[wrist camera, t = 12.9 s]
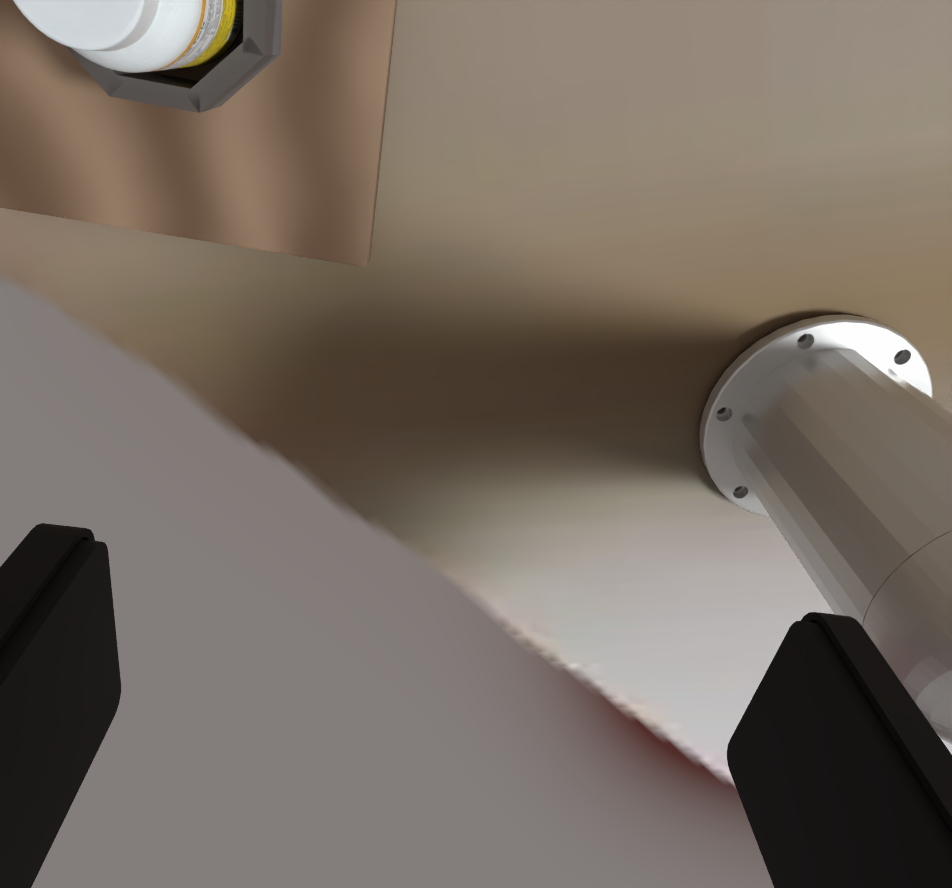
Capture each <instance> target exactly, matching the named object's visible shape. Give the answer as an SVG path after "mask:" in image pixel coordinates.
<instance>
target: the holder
mask: <svg viewBox="0 0 952 888" xmlns="http://www.w3.org/2000/svg"><path fill="white" fill-rule="evenodd" d="M396 5H397V0H244V16H243V34H242V36H241V38H240V39H239V41H238V42H237V44H236V45H235V47H234V48H233V49H232V50H231V51H230V52H229V53H228V54H226V55H225V56H224V57H222V58H221V59H219V60H217V61H215V62H212V63H210V64H206V65H202V66H193V67H183V68H174V69H167V70H159V71H152V72H139V73H131V72H122V71H116V70H112V69H109V68H106V67H103V66H101V65H98V64H96V63H94V62H92V61H90V60H88V59H86V58H85V57H83V56H82V55H80V54H79V53H77V52H76V51H74V50H73V49H72V48H71V47H68V46H65V45H63V44H60V43H58V42H56V41H55V40H53V39H51V38H49V37H48V36H46V35H45V34H44V33H42V32H41V31H40V30H38V29H37V28H36V27H35V26H34V25H33V24H32V23H31V22H30V21H29V20H28V19H27V18H26V17H25V16H24V15H23V14H22V12H21V11H20V10H19V8H18V7H17V5H16V4H15V2H14V1H13V0H0V208H7V209H13V210H19V211H25V212H31V213H37V214H43V215H50V216H56V217H62V218H68V219H74V220H80V221H86V222H93V223H99V224H105V225H111V226H117V227H123V228H129V229H135V230H142V231H148V232H154V233H160V234H166V235H172V236H178V237H185V238H191V239H197V240H203V241H209V242H215V243H221V244H228V245H234V246H240V247H246V248H252V249H258V250H264V251H271V252H277V253H283V254H289V255H295V256H301V257H307V258H314V259H320V260H326V261H332V262H338V263H344V264H350V265H356V266H363V267H367V266H368V263H369V260H370V255H371V245H372V235H373V226H374V216H375V207H376V197H377V187H378V178H379V168H380V159H381V149H382V139H383V130H384V120H385V111H386V101H387V91H388V82H389V72H390V63H391V53H392V44H393V34H394V24H395V15H396Z"/></svg>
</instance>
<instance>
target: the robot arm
mask: <svg viewBox="0 0 952 888" xmlns="http://www.w3.org/2000/svg"><path fill="white" fill-rule="evenodd" d="M800 336H801V338H800ZM721 408H722V409H721ZM719 409H720V410H719ZM700 450H701V454H702V458H703V463H704V465H705V467H706V469H707V471H708V473H709V474H710V476H711V478H712V480H713V481H714V483H715V484H716V486H717V487H718V489H719V490H720V491H721V492H722V493H723V494H724V495H725V496H726V497H727V498H728V499H729V500H730V501H731V502H733V503H734V504H736V505H738V506H740V507H741V508H743V509H745V510H747V511H749V512H752V513H755V514H758V515H762V516H765V517H771V519H772V520H773V522H774V523H775V525H776V526H777V528H778V529H779V531H780V532H781V534H782V535H783V537H784V538H785V540H786V541H787V543H788V544H789V546H790V547H791V549H792V550H793V552H794V553H795V555H796V556H797V558H798V559H799V561H800V562H801V564H802V565H803V567H804V568H805V570H806V571H807V573H808V574H809V576H810V577H811V579H812V580H813V582H814V583H815V585H816V586H817V588H818V589H819V591H820V592H821V594H822V595H823V597H824V598H825V600H826V601H827V603H828V605H829V606H830V608H831V609H832V611H833V612H834V614H835V615H834V614H825V613H817V612H811V613H808V614H806V615H805V616H804V617H803V618H802V620H801V621H796V622H795V623H793V624H792V625H791V627H790V628H789V630H788V632H787V634H786V636H785V638H784V640H783V642H782V643H781V645H780V647H779V649H778V651H777V653H776V655H775V657H774V658H773V660H772V662H771V664H770V666H769V668H768V670H767V672H766V673H765V675H764V677H763V679H762V681H761V683H760V685H759V687H758V689H757V690H756V692H755V694H754V696H753V698H752V700H751V702H750V704H749V705H748V707H747V709H746V711H745V713H744V715H743V717H742V719H741V721H740V722H739V724H738V726H737V728H736V730H735V732H734V734H733V736H732V737H731V739H730V742H729V744H728V749H727V761H728V766H729V770H730V773H731V775H732V778H733V780H734V783H735V786H736V788H737V791H738V793H739V796H740V799H741V801H742V804H743V807H744V809H745V812H746V814H747V817H748V820H749V822H750V825H751V827H752V830H753V833H754V835H755V838H756V841H757V843H758V846H759V849H760V851H761V854H762V856H763V859H764V862H765V864H766V866H767V870H768V872H769V875H770V877H771V880H772V883H773V885H774V888H952V755H951V753H950V752H949V750H948V749H947V747H946V746H945V745H944V743H943V742H942V740H941V739H943V740H945V741H947V742H949V743H951V744H952V413H951V412H950V411H948V410H947V409H946V408H944V407H943V406H942V405H940V404H939V403H938V402H936V401H935V400H934V399H933V390H932V380H931V376H930V373H929V369H928V366H927V364H926V362H925V360H924V359H923V357H922V355H921V354H920V352H919V351H918V349H917V348H916V347H915V346H914V345H913V344H912V343H911V342H910V341H908V340H907V339H906V338H905V337H904V336H903V335H901V334H900V333H898V332H897V331H895V330H894V329H892V328H890V327H889V326H887V325H885V324H882V323H880V322H877V321H875V320H872V319H870V318H865V317H859V316H853V315H824V316H819V317H814V318H809V319H804V320H801V321H798V322H795V323H793V324H790V325H787V326H785V327H782V328H779V329H778V330H776V331H774V332H772V333H771V334H769V335H767V336H765V337H764V338H762V339H760V340H758V341H757V342H756V343H755V344H753V345H752V346H751V347H750V348H748V349H747V350H746V351H744V352H743V353H742V354H741V355H739V357H738V358H737V359H736V360H735V361H734V362H733V363H732V364H731V365H730V366H729V367H728V368H727V370H726V371H725V372H724V373H723V374H722V376H721V377H720V379H719V381H718V382H717V384H716V385H715V387H714V388H713V390H712V391H711V394H710V396H709V398H708V401H707V403H706V405H705V408H704V410H703V415H702V420H701V424H700ZM120 694H121V680H120V670H119V661H118V651H117V640H116V630H115V620H114V609H113V598H112V588H111V578H110V567H109V557H108V549H107V546H106V544H105V543H103V542H98V541H95V539H94V535H93V533H92V531H91V530H89V529H86V528H78V527H70V526H61V525H52V524H44V523H42V524H39V525H36V526H35V527H34V528H33V529H32V530H31V531H30V532H29V534H28V535H27V536H26V537H25V538H24V540H23V541H22V542H21V543H20V544H19V546H18V547H17V548H16V549H15V550H14V552H13V553H12V554H11V555H10V556H9V558H8V559H7V560H6V561H5V562H4V564H3V565H2V566H1V567H0V888H31V887H32V885H33V882H34V880H35V878H36V876H37V874H38V872H39V870H40V868H41V866H42V864H43V862H44V860H45V858H46V855H47V854H48V851H49V850H50V848H51V845H52V843H53V841H54V839H55V837H56V835H57V833H58V831H59V829H60V827H61V825H62V823H63V821H64V819H65V817H66V815H67V813H68V810H69V809H70V806H71V804H72V802H73V800H74V798H75V796H76V794H77V792H78V790H79V788H80V786H81V784H82V782H83V780H84V777H85V775H86V773H87V772H88V769H89V767H90V765H91V763H92V761H93V759H94V757H95V755H96V753H97V751H98V749H99V747H100V745H101V743H102V741H103V739H104V737H105V734H106V732H107V730H108V728H109V726H110V724H111V722H112V720H113V718H114V716H115V713H116V711H117V708H118V705H119V700H120ZM940 738H941V739H940Z"/></svg>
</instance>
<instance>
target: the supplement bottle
mask: <svg viewBox="0 0 952 888" xmlns="http://www.w3.org/2000/svg"><path fill="white" fill-rule="evenodd" d="M13 1H14V2H15V4H16V5H17V7H18V8H19V10H20V11H21V12H22V14H23V15H24V16H25V17H26V18H27V19H28V20H29V21H30V22H31V23H32V24H33V25H34V26H35V27H36V28H37V29H38V30H40V31H41V32H42V33H44V34H45V35H46V36H48V37H49V38H51V39H53V40H55V41H56V42H58V43H60V44H63V45H65V46H68V47H71V48H72V49H73V50H74V51H76V52H77V53H79V54H80V55H82V56H83V57H85V58H86V59H88V60H90V61H92V62H94V63H96V64H98V65H101V66H103V67H106V68H109V69H112V70H116V71H122V72H131V73H139V72H152V71H159V70H167V69H174V68H183V67H193V66H202V65H206V64H210V63H212V62H215V61H217V60H219V59H221V58H222V57H224V56H225V55H226V54H228V53H229V52H230V51H231V50H232V49H233V48H234V47H235V45H236V44H237V42H238V41H239V39H240V38H241V36H242V34H243V16H244V0H13Z"/></svg>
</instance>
